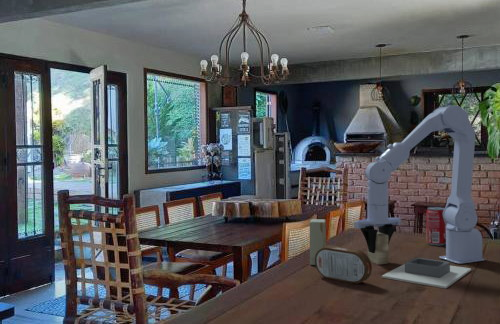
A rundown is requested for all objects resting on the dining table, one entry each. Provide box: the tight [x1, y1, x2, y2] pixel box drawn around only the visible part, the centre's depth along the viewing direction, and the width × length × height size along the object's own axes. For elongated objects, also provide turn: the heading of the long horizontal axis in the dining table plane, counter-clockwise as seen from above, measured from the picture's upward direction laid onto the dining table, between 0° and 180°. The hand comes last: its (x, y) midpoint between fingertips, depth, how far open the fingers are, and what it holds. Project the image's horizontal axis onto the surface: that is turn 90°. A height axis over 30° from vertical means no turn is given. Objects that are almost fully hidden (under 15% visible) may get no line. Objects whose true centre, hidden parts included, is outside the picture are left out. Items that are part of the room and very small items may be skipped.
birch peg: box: [367, 231, 389, 265], centre depth 145 cm, size 4×5×8 cm
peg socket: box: [381, 256, 472, 289], centre depth 132 cm, size 20×16×3 cm
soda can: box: [425, 206, 447, 247], centre depth 167 cm, size 6×6×12 cm
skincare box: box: [309, 218, 327, 266], centre depth 145 cm, size 6×4×12 cm
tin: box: [314, 244, 373, 285], centre depth 127 cm, size 15×3×8 cm, turn 50°
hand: (377, 251), depth 145 cm, fingers closed on birch peg, 3 cm apart
